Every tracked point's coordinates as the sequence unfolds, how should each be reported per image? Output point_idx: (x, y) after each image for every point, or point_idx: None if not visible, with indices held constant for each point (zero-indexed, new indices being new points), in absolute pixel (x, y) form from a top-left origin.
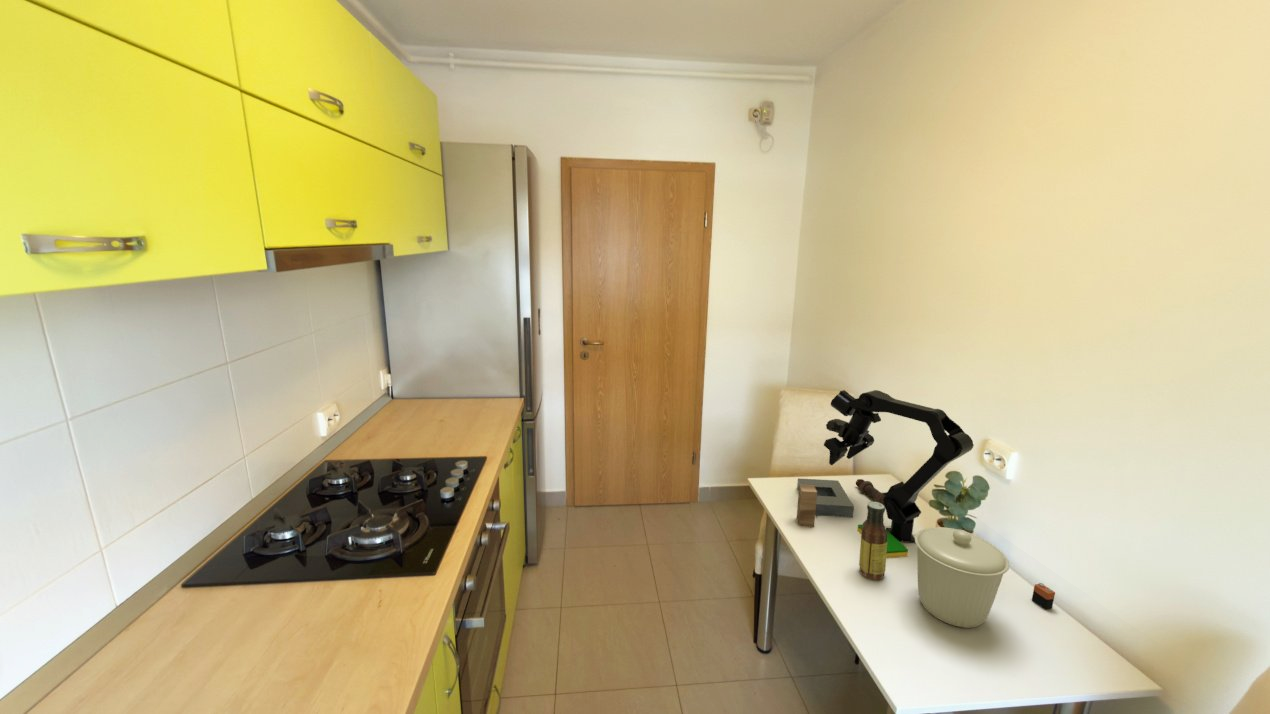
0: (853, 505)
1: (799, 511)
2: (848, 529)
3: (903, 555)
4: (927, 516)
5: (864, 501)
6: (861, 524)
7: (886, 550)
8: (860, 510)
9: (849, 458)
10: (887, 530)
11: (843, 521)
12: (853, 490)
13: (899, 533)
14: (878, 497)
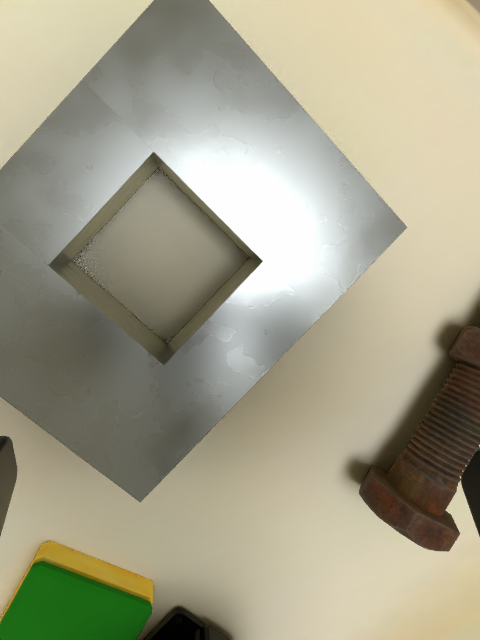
0: (146, 494)
1: None
2: (11, 513)
3: None
4: (451, 631)
5: (369, 398)
6: (56, 573)
7: None
8: (255, 439)
9: (468, 498)
10: (161, 628)
11: (63, 454)
12: (448, 289)
13: None
14: (385, 507)
